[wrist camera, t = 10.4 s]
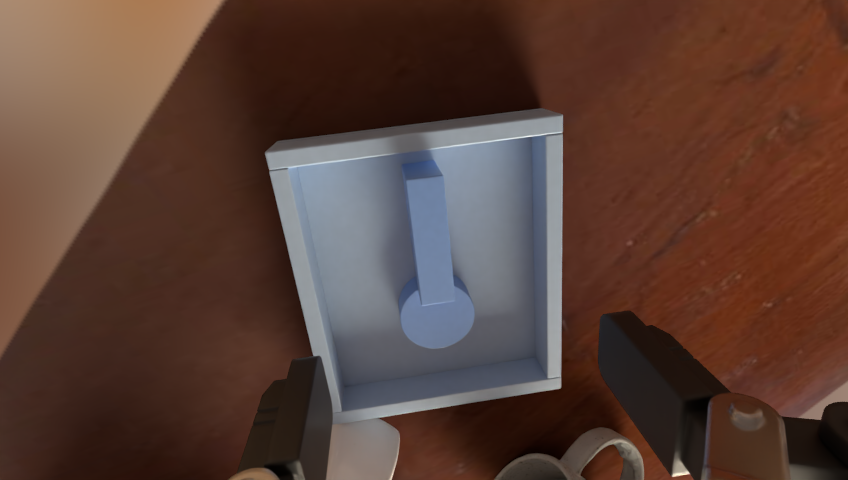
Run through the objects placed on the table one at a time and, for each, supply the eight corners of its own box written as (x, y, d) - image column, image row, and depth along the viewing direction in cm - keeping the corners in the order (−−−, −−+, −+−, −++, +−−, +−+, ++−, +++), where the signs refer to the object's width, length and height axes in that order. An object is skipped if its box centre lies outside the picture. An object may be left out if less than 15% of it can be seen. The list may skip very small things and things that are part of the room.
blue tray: (276, 141, 21) (263, 151, 19) (542, 107, 22) (563, 113, 19) (333, 392, 27) (329, 425, 24) (545, 359, 27) (561, 388, 25)
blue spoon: (377, 167, 21) (378, 183, 19) (457, 156, 22) (470, 171, 19) (403, 337, 25) (407, 372, 22) (471, 327, 25) (483, 360, 22)
